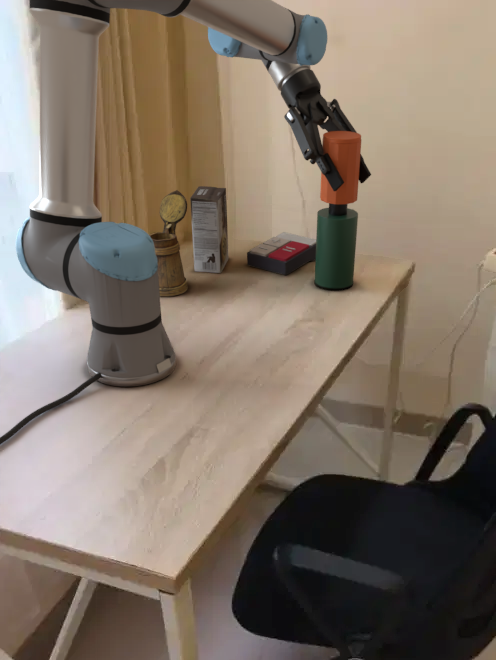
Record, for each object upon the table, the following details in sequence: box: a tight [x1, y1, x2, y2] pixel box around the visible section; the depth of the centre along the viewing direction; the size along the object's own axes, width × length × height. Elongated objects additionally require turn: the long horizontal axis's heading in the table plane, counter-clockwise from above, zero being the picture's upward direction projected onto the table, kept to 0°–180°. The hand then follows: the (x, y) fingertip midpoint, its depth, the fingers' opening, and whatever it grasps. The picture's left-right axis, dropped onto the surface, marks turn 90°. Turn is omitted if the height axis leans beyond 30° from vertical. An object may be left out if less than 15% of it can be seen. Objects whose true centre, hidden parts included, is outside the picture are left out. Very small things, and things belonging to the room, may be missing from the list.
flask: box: [313, 203, 359, 292], centre depth 158 cm, size 9×9×18 cm
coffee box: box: [189, 185, 230, 274], centre depth 166 cm, size 9×6×16 cm
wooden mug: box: [148, 189, 189, 297], centre depth 156 cm, size 9×14×18 cm, turn 163°
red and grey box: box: [246, 231, 316, 276], centre depth 173 cm, size 11×4×15 cm
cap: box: [319, 131, 362, 205], centre depth 149 cm, size 7×7×12 cm
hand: (352, 182), depth 148 cm, fingers closed on cap, 8 cm apart
